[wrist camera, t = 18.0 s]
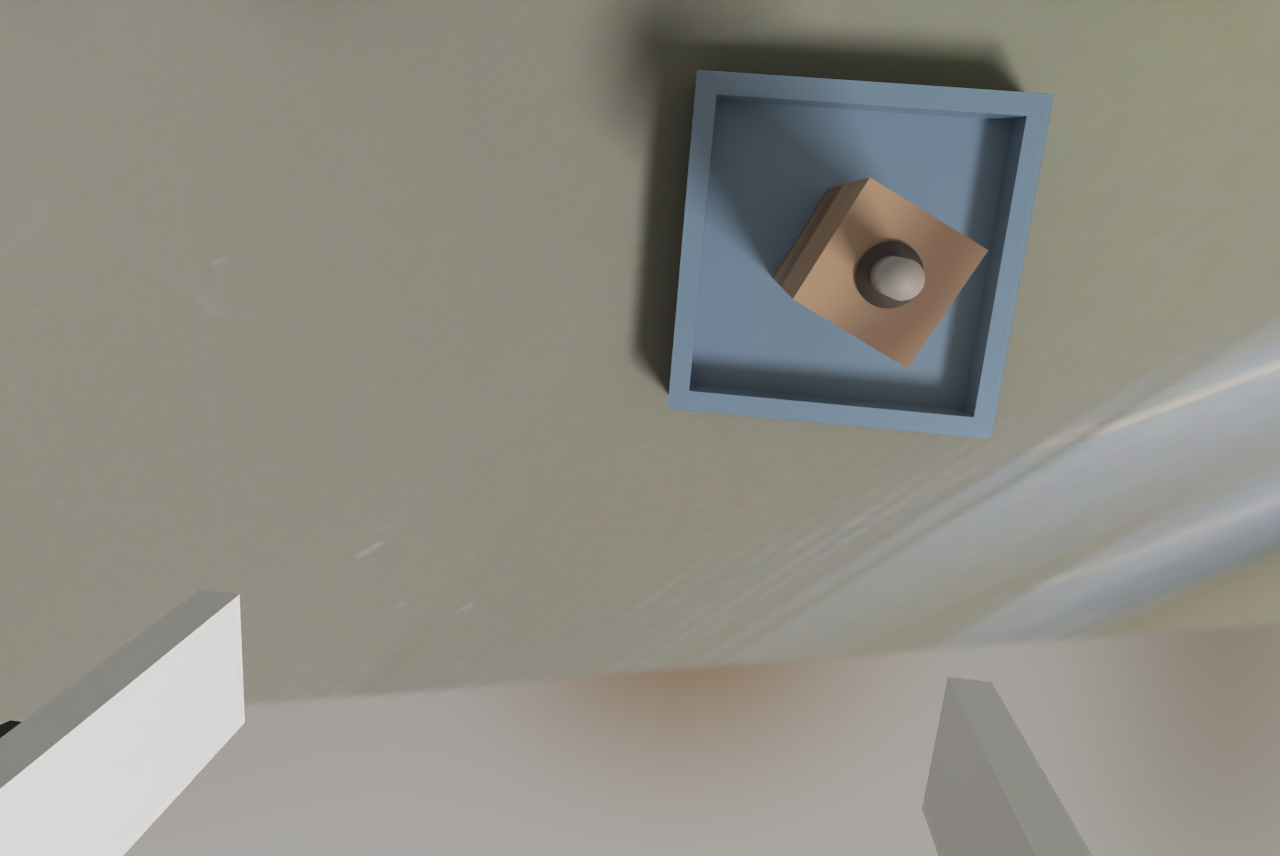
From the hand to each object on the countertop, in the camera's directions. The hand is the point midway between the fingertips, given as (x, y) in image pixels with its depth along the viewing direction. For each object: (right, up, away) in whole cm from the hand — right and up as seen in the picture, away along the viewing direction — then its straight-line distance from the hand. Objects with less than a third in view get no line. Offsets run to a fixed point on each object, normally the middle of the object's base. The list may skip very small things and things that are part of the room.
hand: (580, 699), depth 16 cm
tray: (+11, +14, +28) cm, 33 cm away
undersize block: (+11, +13, +27) cm, 32 cm away
